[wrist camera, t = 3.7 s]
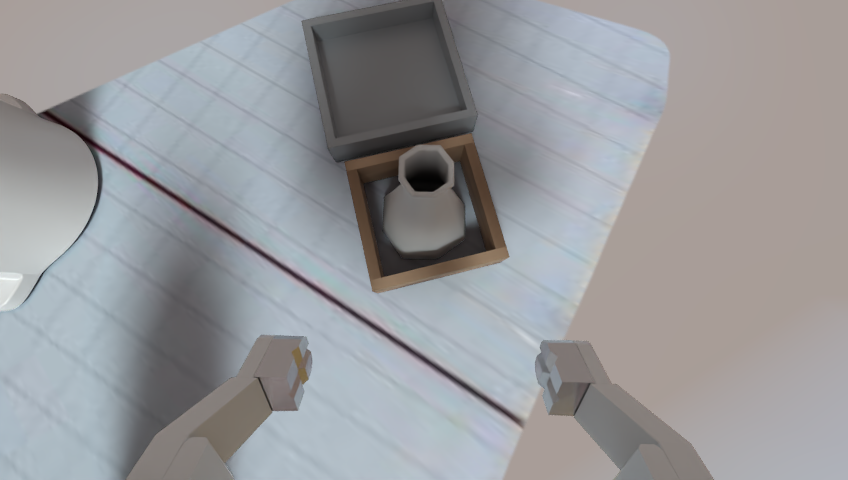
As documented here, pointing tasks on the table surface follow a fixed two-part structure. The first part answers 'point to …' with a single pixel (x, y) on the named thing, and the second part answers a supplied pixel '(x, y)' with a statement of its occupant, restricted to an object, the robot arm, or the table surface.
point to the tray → (388, 78)
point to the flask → (424, 205)
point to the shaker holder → (480, 196)
